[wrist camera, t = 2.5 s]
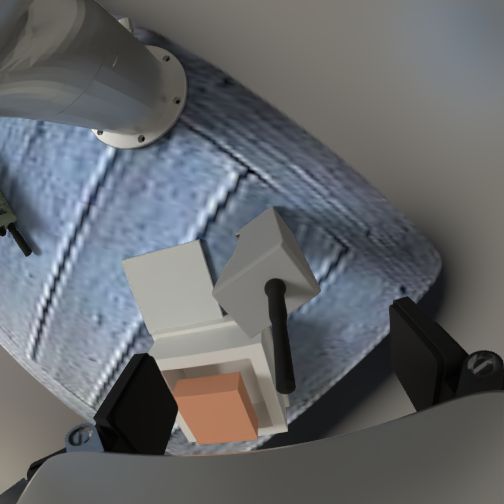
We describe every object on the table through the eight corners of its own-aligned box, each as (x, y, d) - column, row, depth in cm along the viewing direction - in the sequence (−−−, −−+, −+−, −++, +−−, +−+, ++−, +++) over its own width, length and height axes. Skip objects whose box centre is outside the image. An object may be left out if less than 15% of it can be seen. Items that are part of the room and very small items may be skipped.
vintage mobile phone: (234, 232, 33) (171, 394, 8) (272, 204, 32) (306, 314, 8) (255, 259, 33) (244, 452, 9) (292, 232, 32) (367, 392, 8)
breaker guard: (156, 327, 36) (137, 357, 29) (264, 306, 35) (265, 337, 28) (195, 410, 40) (187, 444, 33) (288, 397, 39) (292, 432, 32)
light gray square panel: (123, 259, 34) (121, 261, 33) (199, 239, 33) (198, 240, 32) (151, 331, 36) (149, 334, 36) (224, 318, 35) (224, 321, 35)
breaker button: (177, 379, 30) (171, 397, 27) (239, 371, 29) (237, 390, 26) (202, 426, 32) (198, 444, 29) (258, 420, 31) (257, 438, 28)
